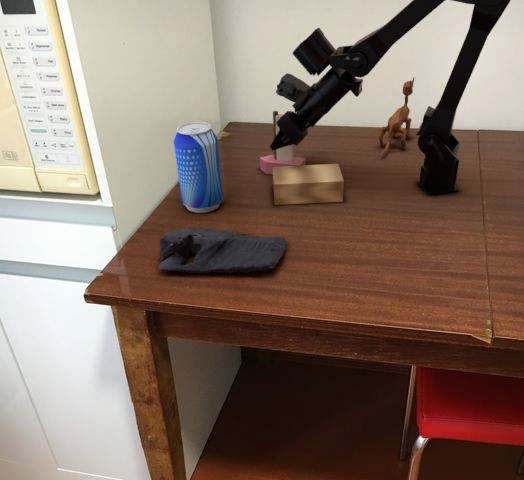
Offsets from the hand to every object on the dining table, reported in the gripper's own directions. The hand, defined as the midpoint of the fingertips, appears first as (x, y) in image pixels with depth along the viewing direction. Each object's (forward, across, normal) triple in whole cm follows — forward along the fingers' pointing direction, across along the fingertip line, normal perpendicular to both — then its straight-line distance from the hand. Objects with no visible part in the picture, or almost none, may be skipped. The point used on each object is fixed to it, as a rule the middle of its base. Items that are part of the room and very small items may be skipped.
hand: (277, 142), depth 132 cm
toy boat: (+4, 0, +6) cm, 7 cm away
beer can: (+11, +21, -2) cm, 24 cm away
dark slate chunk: (+2, +39, +7) cm, 40 cm away
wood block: (-2, +10, +12) cm, 16 cm away
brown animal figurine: (-11, -21, +21) cm, 32 cm away
